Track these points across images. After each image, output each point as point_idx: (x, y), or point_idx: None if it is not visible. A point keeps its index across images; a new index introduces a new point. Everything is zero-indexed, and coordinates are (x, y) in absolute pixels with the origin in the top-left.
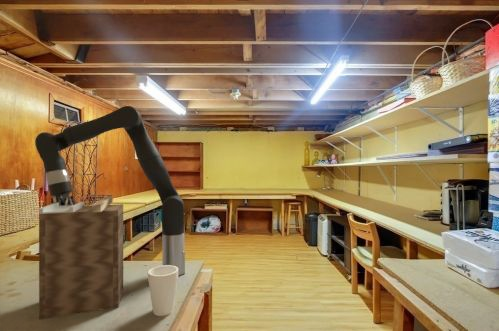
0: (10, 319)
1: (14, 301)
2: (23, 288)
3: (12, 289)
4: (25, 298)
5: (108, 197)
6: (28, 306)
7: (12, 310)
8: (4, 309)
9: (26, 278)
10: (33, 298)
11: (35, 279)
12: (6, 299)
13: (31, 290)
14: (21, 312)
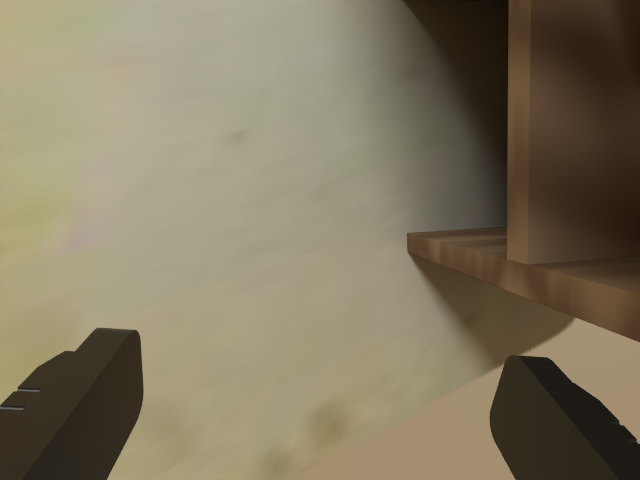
0: (537, 331)
1: (398, 391)
2: (271, 423)
3: (270, 462)
4: (382, 364)
5: None
6: (458, 319)
7: (473, 358)
8: (456, 389)
9: (140, 474)
10: (391, 333)
11: (166, 426)
12: (370, 429)
13: (304, 379)
14: (498, 320)
